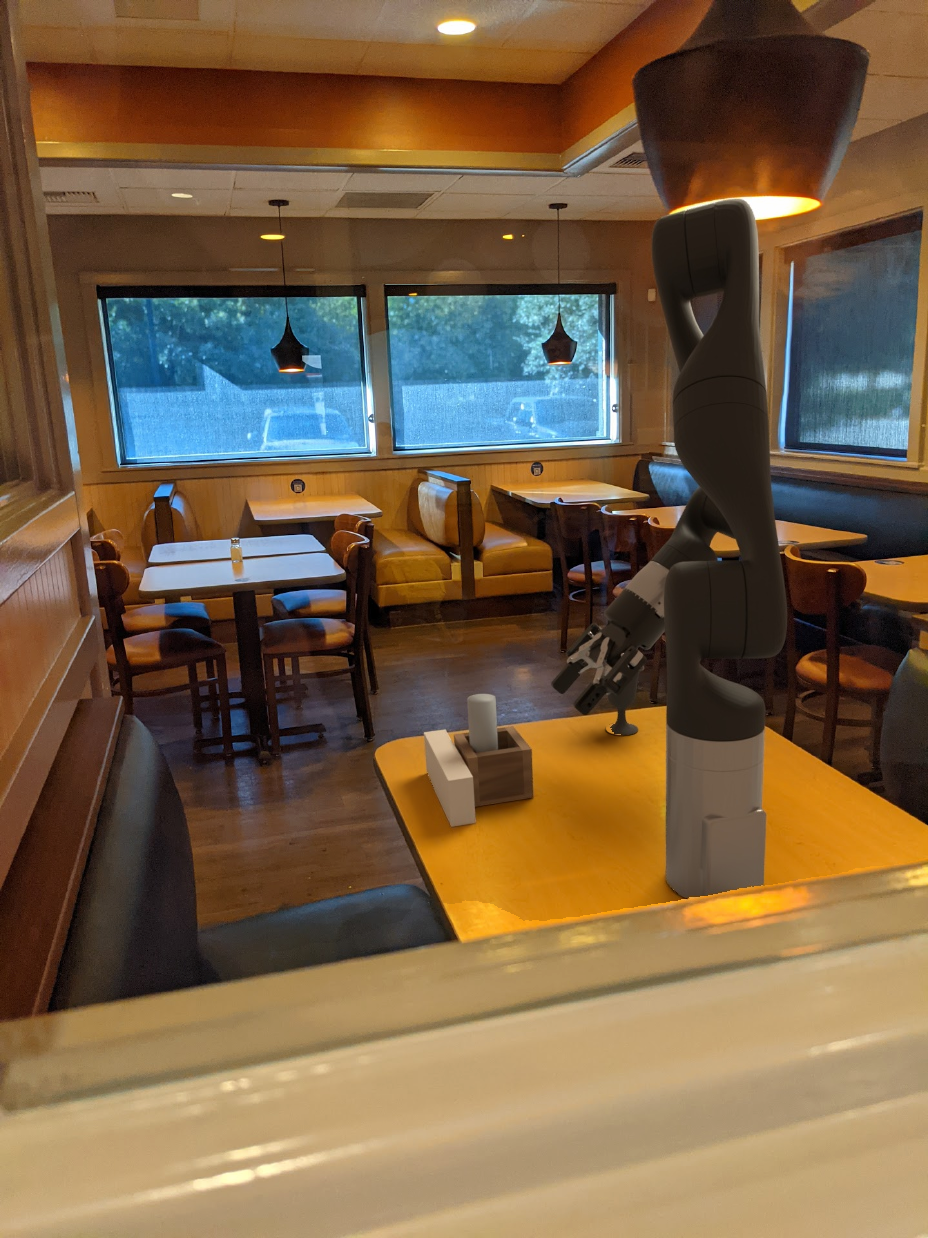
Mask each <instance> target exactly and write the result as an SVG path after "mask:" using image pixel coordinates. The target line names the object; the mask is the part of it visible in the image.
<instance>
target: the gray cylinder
mask: <svg viewBox="0 0 928 1238" xmlns="http://www.w3.org/2000/svg"><path fill="white" fill-rule="evenodd" d="M496 700H497V699H496V696H495V695H494V694H489V693H477V694H473V695H470V696H468V697H467V700H466V704H467V706H466V707H467V721H468V722H467V723H468V732H469V740H470V746H471V748H472V749H473V751H474V752H475V753H481V752H488V751H494V750H498V738H497V728H498V721H497V701H496Z"/></svg>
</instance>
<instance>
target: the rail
mask: <svg viewBox="0 0 928 1238" xmlns="http://www.w3.org/2000/svg"><path fill="white" fill-rule="evenodd" d="M423 741H424V752H425V753H424V755H425V768H426V769H425V770H426V773H427V772H428V775H429V777H430V779H431V781H430V783H431V782H432V784H431V786H432V785H433V786H432V788H433V787H434V788H433V790H434V792H435V795H436V796H437V799H438V800H439V803H440V805H441V808H442V809H443V812H444V814H445V816H446V819H447V820H448V823H449V826H450V827H451V828H453V827H458V826H465V825H471V824H472V825H473V824H476V823H477V821H476V809H475V808H476V807H475V803H474V785H473V776H472V774H471V773H470V771H469V769H468V767H467V766H466V764H465V762H464V761H463V759H462V757H461V755H460V754H459V752H458V750H457V749H456V747H455V745H454V741H453V740H452V738H451V737H450V735H449V733H448V732H447V729H437V730H431V731H424V732H423ZM428 775H427V776H428ZM429 777H428V778H429ZM430 779H429V780H430Z"/></svg>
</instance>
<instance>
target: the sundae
mask: <svg viewBox="0 0 928 1238" xmlns="http://www.w3.org/2000/svg"><path fill="white" fill-rule="evenodd" d="M644 665H645V664H644ZM644 665H643V666H642V667H641V668H640V670H639V671H638V672H637V673H636V675H635V676H634V677H633V678H632V680H631V681H630V682H629V683H628V685H627V686H626V687H625V688H624V690H623V691H622V692H621V693H620V694H619V695H615V694H614V693H610V694H609V695H607V694H606V695H607V701H608V702H609V703H610V704H611V705H612V706H613V707H615V708H616V709H617V718H616V721H615V722H614V723H615V724H613V723H612V724H613V725H612V726H611V727H610V728H612V729H611V730H612V732H614V734H621V735H624V736H623V737H626V736H625V735H628V736H632V735H634V734H636V732H637V733H638V731H639V728H638V726H636V725H635V724H633V723H630V724H629V722H628V721H627V717H626V710H627V708H629V707H630V706H632V704H633V703H634V702H635V699H636V696H637V690H638V681H639V675H640V673H642V672H643V671H644V670H645V666H644ZM628 667H629V666H628ZM604 678H605V675H604ZM622 678H623V675H622V676H621V679H622ZM621 679H619V680H616V683H617V684H618V683H619V681H620V680H621Z"/></svg>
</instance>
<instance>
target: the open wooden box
mask: <svg viewBox="0 0 928 1238" xmlns="http://www.w3.org/2000/svg"><path fill="white" fill-rule="evenodd" d="M497 738H498V750H494V751H488V752H481V753H475V752H474V751H473V749H472V748H471V746H470V740H469V731H468V732H462V733H455V734H453V743H454V745H455V747H456V749H457V750H458V752H459V754H460V755H461V757H462V759H463V761H464V762H465V764H466V766H467V767H468V769H469V771H470V773H471V774H472V776H473V785H474V803H475V808H476V807H482V806H487V805H488V806H489V805H494V804H501V803H507V802H513V801H519V800H526V799H531V798H532V799H533V798H534V795H535V794H534V774H533V770H534V769H533V748H532V747H531V746H530V745H529V744H528V743H527V741H526V740H525V739H524V738H523V736H522V735H521V734H520V733H519V732H518V730H517V729H516V728H515V726H513V725H512V726H506V727H497Z"/></svg>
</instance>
